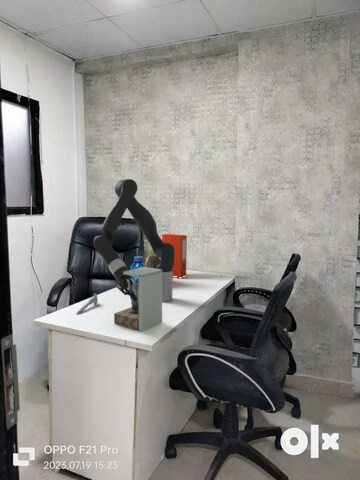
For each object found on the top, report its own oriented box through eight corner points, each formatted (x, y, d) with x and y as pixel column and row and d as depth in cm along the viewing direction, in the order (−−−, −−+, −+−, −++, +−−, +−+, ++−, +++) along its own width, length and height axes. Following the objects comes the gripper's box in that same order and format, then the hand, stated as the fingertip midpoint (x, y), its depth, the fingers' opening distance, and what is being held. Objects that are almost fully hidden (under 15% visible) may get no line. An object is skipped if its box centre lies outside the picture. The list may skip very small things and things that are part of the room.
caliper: (95, 303, 189) (95, 292, 188) (97, 303, 189) (97, 292, 188) (75, 315, 169) (75, 302, 168) (77, 315, 169) (77, 302, 168)
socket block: (114, 323, 157) (114, 313, 156) (134, 315, 168) (134, 305, 168) (137, 330, 149) (137, 319, 148) (156, 321, 160) (157, 311, 160)
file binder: (167, 274, 268) (168, 233, 265) (186, 276, 259) (186, 235, 255) (161, 275, 261) (161, 234, 258) (180, 278, 252) (180, 235, 249)
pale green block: (123, 326, 153) (123, 271, 151) (144, 318, 165) (143, 266, 162) (142, 331, 147) (142, 274, 144) (162, 322, 159) (162, 269, 156)
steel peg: (132, 307, 159) (132, 282, 158) (139, 308, 160) (139, 283, 158) (131, 310, 156) (131, 284, 155) (139, 310, 156) (139, 284, 155)
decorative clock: (153, 278, 252) (153, 238, 248) (169, 280, 247) (169, 239, 244) (134, 287, 226) (134, 242, 222) (152, 289, 221) (152, 243, 218)
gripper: (112, 267, 154) (132, 298, 148) (133, 263, 166) (153, 291, 160) (104, 277, 158) (124, 307, 152) (125, 272, 169) (144, 300, 164)
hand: (138, 299), depth 156 cm, fingers closed on steel peg, 3 cm apart
